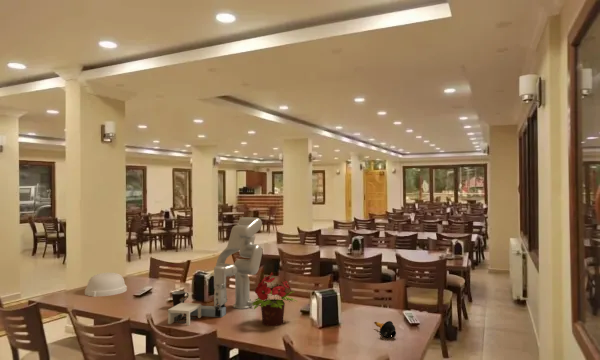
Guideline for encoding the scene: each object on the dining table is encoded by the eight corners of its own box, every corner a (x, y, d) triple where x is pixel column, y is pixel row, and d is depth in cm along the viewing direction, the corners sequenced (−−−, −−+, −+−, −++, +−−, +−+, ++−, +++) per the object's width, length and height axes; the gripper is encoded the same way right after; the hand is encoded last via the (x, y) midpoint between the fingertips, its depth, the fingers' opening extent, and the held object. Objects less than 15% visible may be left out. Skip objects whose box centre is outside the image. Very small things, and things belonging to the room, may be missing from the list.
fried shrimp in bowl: (386, 332, 225) (364, 313, 240) (388, 347, 230) (366, 328, 245) (399, 323, 229) (377, 305, 243) (401, 338, 234) (379, 319, 248)
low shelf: (201, 317, 269) (201, 303, 269) (188, 325, 254) (188, 311, 254) (181, 315, 272) (181, 302, 272) (167, 323, 257) (167, 309, 257)
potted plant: (267, 314, 275) (267, 266, 276) (304, 320, 262) (304, 270, 262) (237, 327, 250) (237, 274, 250) (277, 335, 236) (276, 279, 237)
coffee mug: (173, 310, 286) (173, 294, 286) (170, 306, 293) (170, 291, 293) (191, 307, 291) (191, 292, 291) (188, 304, 299) (188, 289, 299)
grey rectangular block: (225, 314, 275) (225, 307, 275) (221, 317, 269) (221, 310, 269) (191, 312, 281) (191, 304, 281) (186, 314, 275) (186, 307, 275)
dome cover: (100, 286, 355) (100, 269, 356) (134, 287, 351) (134, 270, 352) (75, 296, 324) (75, 277, 324) (112, 297, 320) (112, 278, 320)
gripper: (220, 289, 264) (220, 319, 264) (230, 283, 281) (231, 311, 280) (208, 288, 265) (208, 318, 265) (220, 282, 282) (220, 310, 282)
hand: (220, 314), depth 273 cm, fingers closed on grey rectangular block, 6 cm apart
